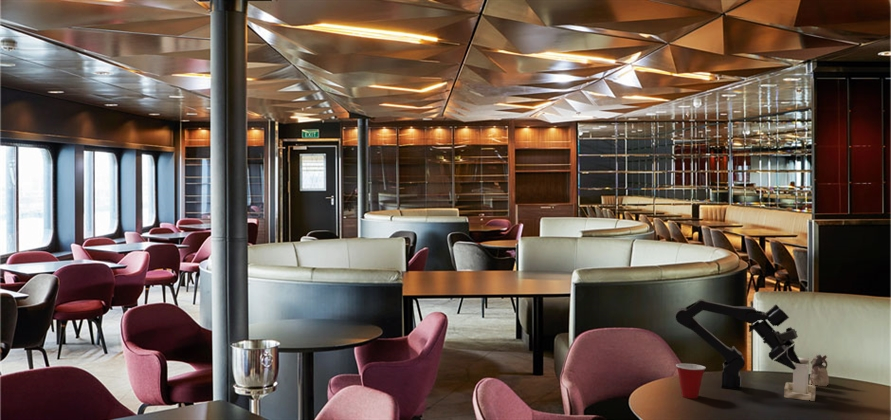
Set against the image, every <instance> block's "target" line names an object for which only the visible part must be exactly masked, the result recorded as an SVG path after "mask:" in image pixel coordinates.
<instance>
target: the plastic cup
mask: <svg viewBox="0 0 891 420" xmlns="http://www.w3.org/2000/svg"><path fill="white" fill-rule="evenodd" d="M675 367H677V368H676V369H677V374H678V379H679V386H680V390H681V395H682V397H683V398H685V399H697V398H698V397H699V394H700V389H701V385H702V379H703V375H704V372H705V369H706V366H704V365H700V364H695V363H677V364H675Z"/></svg>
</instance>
